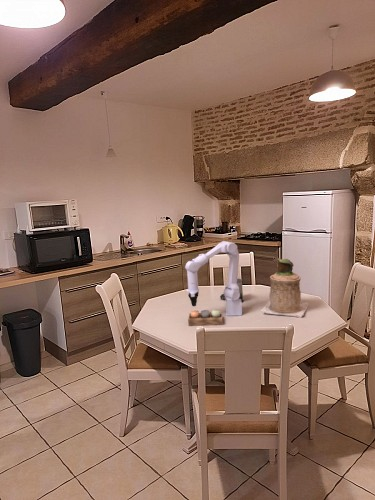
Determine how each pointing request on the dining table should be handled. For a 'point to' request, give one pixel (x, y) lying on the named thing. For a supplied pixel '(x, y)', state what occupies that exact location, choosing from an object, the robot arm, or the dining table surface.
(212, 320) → the brown wooden flat frame
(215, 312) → the key sage
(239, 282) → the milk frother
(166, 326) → the dining table surface
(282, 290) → the cookie jar
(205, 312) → the key slate
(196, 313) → the peach rounded block
